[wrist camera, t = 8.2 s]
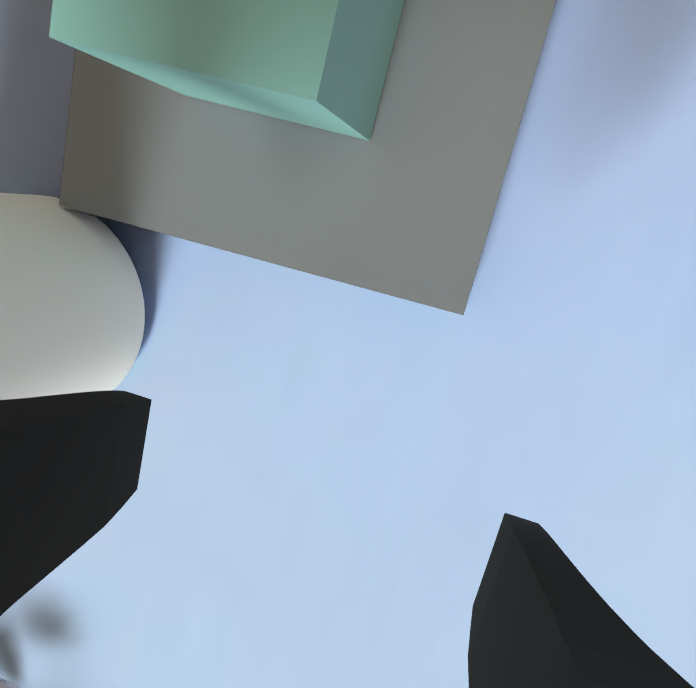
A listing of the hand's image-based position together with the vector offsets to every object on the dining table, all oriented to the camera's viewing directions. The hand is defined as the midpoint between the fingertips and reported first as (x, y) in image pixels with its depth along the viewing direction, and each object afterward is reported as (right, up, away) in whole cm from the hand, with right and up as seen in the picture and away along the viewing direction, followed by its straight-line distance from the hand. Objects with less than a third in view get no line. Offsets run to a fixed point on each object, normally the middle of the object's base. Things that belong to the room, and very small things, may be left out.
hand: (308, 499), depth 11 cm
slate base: (0, +13, +8) cm, 15 cm away
